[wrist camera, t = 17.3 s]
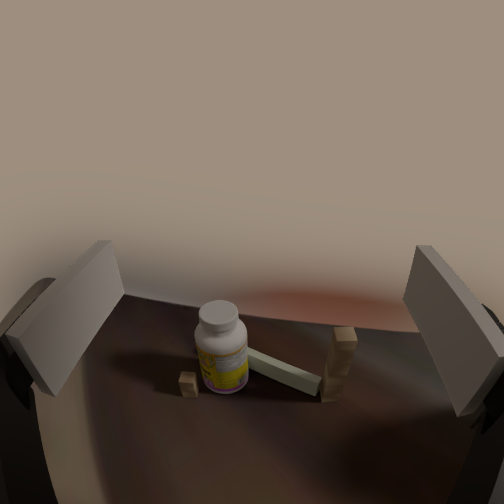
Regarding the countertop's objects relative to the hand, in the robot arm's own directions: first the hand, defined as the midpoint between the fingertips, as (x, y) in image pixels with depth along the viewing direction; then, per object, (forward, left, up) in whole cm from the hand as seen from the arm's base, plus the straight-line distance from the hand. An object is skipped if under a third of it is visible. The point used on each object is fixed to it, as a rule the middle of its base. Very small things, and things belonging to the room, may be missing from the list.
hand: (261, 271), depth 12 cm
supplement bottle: (+5, -17, -29) cm, 34 cm away
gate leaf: (-1, -19, -28) cm, 34 cm away
